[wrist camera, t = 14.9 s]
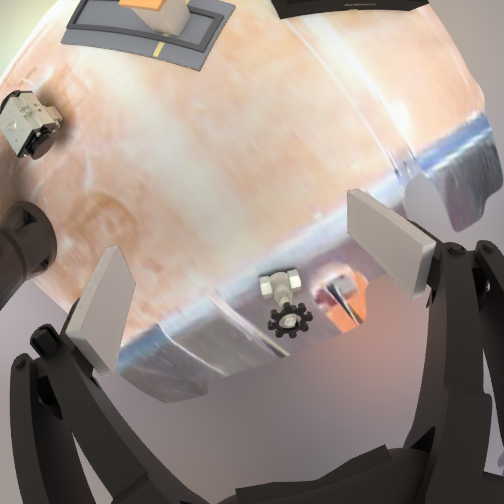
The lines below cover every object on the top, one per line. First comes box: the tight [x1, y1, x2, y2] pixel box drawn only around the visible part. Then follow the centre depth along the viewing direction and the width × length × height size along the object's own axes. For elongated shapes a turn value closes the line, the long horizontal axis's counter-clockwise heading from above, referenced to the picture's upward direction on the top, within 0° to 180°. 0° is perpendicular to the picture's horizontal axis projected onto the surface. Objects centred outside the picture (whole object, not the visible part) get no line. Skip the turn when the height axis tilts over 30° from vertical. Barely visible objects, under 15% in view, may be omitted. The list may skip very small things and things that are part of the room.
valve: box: [259, 269, 313, 338], centre depth 43 cm, size 7×7×12 cm
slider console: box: [60, 0, 236, 71], centre depth 25 cm, size 26×12×2 cm, turn 65°
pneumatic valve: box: [0, 90, 63, 160], centre depth 26 cm, size 6×12×12 cm, turn 37°
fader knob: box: [118, 0, 191, 37], centre depth 20 cm, size 5×5×13 cm
